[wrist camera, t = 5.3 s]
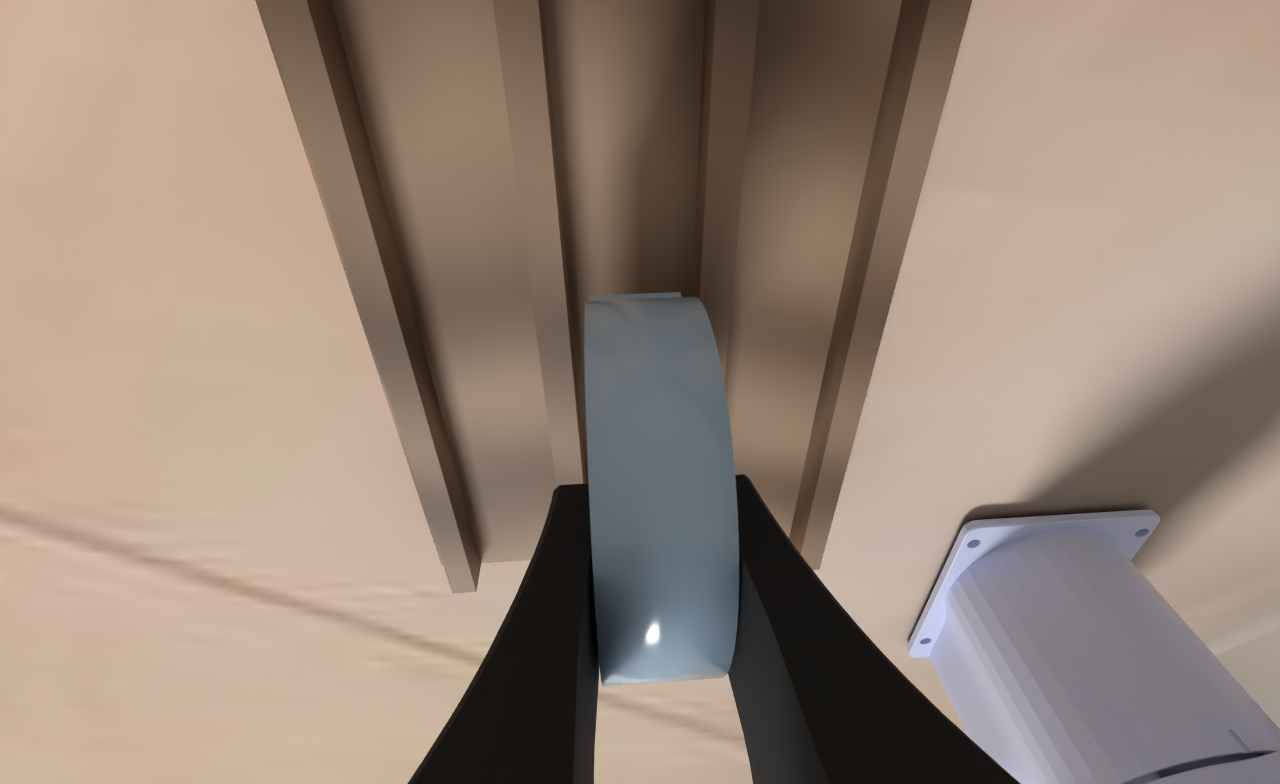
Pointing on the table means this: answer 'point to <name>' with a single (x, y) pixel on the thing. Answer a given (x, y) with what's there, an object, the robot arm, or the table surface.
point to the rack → (614, 220)
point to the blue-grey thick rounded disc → (660, 490)
